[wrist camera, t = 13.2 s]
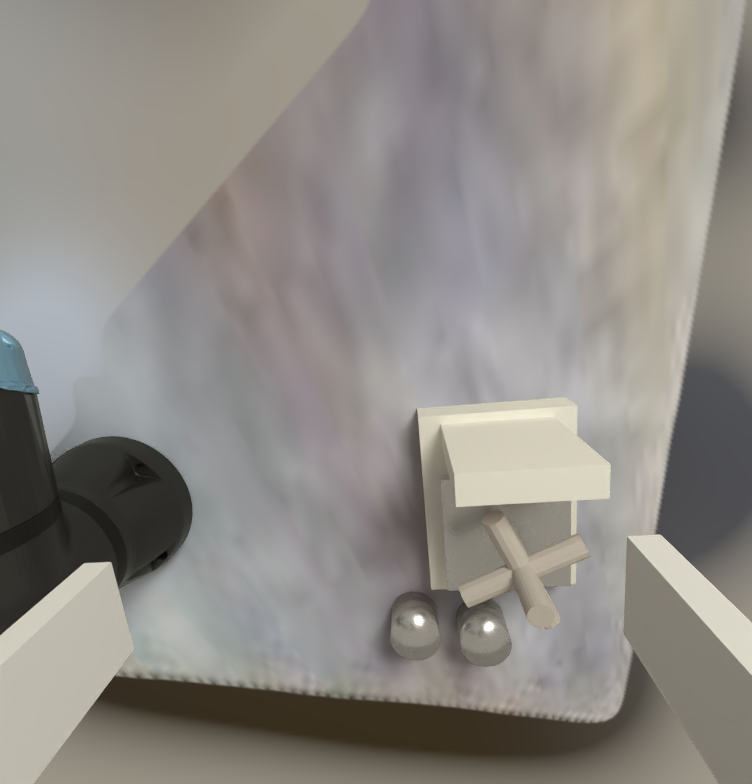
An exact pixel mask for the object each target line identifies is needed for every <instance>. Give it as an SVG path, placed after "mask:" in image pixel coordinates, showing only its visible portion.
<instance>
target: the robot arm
mask: <svg viewBox="0 0 752 784" xmlns="http://www.w3.org/2000/svg"><path fill="white" fill-rule="evenodd" d="M37 394H39V390H38V388H37V387H36V386H34V384H33V381H32V377H31V374H30V371H29V368H28V365H27V362H26V358H25V354H24V351H23V349H22V346H21V345H20V343H19V342H18V341H17V340H16V339H15V338H14V337H13V336H11V335H10V334H8V333H6V332H5V331H2V330H0V784H34V782H35V781H36V780H37V778H38V777H39V776H40V774H41V773H42V772H43V770H44V769H45V768H46V766H47V765H48V764H49V762H50V761H51V760H52V758H53V757H54V756H55V754H56V753H57V751H58V750H59V749H60V748H61V746H62V745H63V743H64V742H65V741H66V740H67V738H68V737H69V736H70V734H71V733H72V732H73V730H74V729H75V728H76V726H77V725H78V723H79V722H80V721H81V720H82V718H83V717H84V716H85V714H86V713H87V712H88V710H89V709H90V707H91V706H92V705H93V703H94V702H95V701H96V699H97V698H98V697H99V695H100V694H101V693H102V691H103V690H104V689H105V687H106V686H107V685H108V683H109V682H110V681H111V679H112V678H113V677H114V675H115V674H116V673H117V671H118V670H119V669H120V667H121V666H122V665H123V663H124V662H125V661H126V659H127V658H128V657H129V655H130V654H131V653H132V651H133V650H134V647H133V643H132V639H131V636H130V632H129V628H128V624H127V620H126V616H125V613H124V609H123V605H122V601H121V597H120V593H119V590H118V588H120V587H122V586H124V585H126V584H128V583H130V582H132V581H134V580H136V579H138V578H140V577H142V576H144V575H146V574H148V573H150V572H152V571H154V570H155V569H157V568H158V567H160V566H161V565H163V564H164V563H165V562H166V561H167V560H168V559H169V558H170V557H171V556H172V555H173V554H174V553H175V552H176V550H177V549H178V548H179V547H180V546H181V544H182V543H183V542H184V540H185V538H186V537H187V534H188V532H189V529H190V526H191V521H192V503H191V498H190V494H189V491H188V488H187V486H186V483H185V481H184V480H183V478H182V476H181V475H180V473H179V472H178V470H177V469H176V468H175V466H174V465H173V464H172V463H171V462H170V461H169V460H168V459H167V458H166V457H165V456H163V455H162V454H161V453H159V452H158V451H157V450H155V449H153V448H152V447H150V446H148V445H146V444H144V443H142V442H139V441H136V440H133V439H129V438H124V437H113V436H111V437H100V438H96V439H92V440H89V441H87V442H85V443H83V444H80V445H78V446H76V447H74V448H72V449H70V450H69V451H67V452H65V453H64V454H62V455H61V456H60V457H58V458H57V459H56V460H55V461H54V462H53V463H52V461H51V457H50V453H49V449H48V445H47V440H46V435H45V431H44V426H43V421H42V417H41V412H40V408H39V403H38V398H37ZM624 635H625V637H626V638H627V640H628V641H629V643H630V644H631V646H632V648H633V649H634V651H635V652H636V654H637V655H638V657H639V659H640V660H641V662H642V663H643V665H644V667H645V668H646V670H647V671H648V673H649V674H650V676H651V678H652V679H653V680H654V682H655V684H656V685H657V687H658V689H659V690H660V692H661V693H662V695H663V697H664V698H665V700H666V701H667V703H668V704H669V706H670V708H671V709H672V711H673V712H674V714H675V715H676V717H677V719H678V720H679V722H680V723H681V725H682V726H683V728H684V730H685V731H686V733H687V734H688V736H689V737H690V739H691V741H692V742H693V744H694V745H695V747H696V749H697V750H698V752H699V753H700V755H701V756H702V758H703V760H704V761H705V763H706V764H707V766H708V767H709V769H710V770H711V772H712V774H713V775H714V777H715V778H716V780H717V782H718V783H719V784H752V622H751V621H750V620H749V619H747V618H746V617H745V616H744V615H743V614H742V613H741V612H740V611H739V610H738V609H737V608H736V607H735V606H734V605H733V604H732V603H731V602H730V601H729V600H728V599H727V598H726V597H724V595H722V593H720V592H719V591H718V590H717V589H716V588H715V587H714V586H713V585H712V584H711V583H710V582H709V581H708V580H707V579H706V578H705V577H704V576H703V575H702V574H701V573H700V572H699V571H698V570H697V569H696V568H695V567H694V566H692V565H691V564H690V563H689V562H688V561H687V560H686V559H685V558H684V557H683V556H682V555H681V554H680V553H679V552H678V551H677V550H676V549H675V548H674V547H673V546H672V545H671V544H670V543H669V542H668V541H666V540H665V539H664V538H663V537H662V536H661V535H645V536H627V554H626V581H625V608H624Z"/></svg>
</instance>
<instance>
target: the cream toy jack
mask: <svg viewBox="0 0 752 784" xmlns="http://www.w3.org/2000/svg"><path fill="white" fill-rule="evenodd" d="M482 524H483V526H484V527H485V529H486V531H487V533H488V534H489V536H490V538H491V540H492V542H493V543H494V545H495V547H496V549H497V551H498V552H499V554H500V556H501V558H502V560H503V561H504V563H505V565H503V566H500V567H498V568H496V569H493V570H491V571H489V572H486V573H484V574H482V575H479V576H477V577H475V578H473V579H470V580H468V581H466V582H463V583H461V584H459V590H460V593H461V596H462V598H463V600H464V602H465V604H466V606H467V607H468V608H470V607H472V606H475V605H477V604H479V603H482V602H484V601H487V600H489V599H491V598H494V597H496V596H498V595H501V594H503V593H506V592H508V591H510V590H513V589H515V588H516V590H517V593H518V596H519V598H520V601H521V604H522V607H523V609H524V612H525V615H526V617H527V620H528V622H529V624H530V625H532V626H533V627H536V628H545V629H550V628H553V627H555V626H556V625H558V623H559V621H560V615H559V613H558V611H557V609H556V607H555V605H554V604H553V602H552V600H551V598H550V596H549V594H548V593H547V591H546V589H545V587H544V585H543V583H542V582H541V580H540V578H541V577H543V576H546V575H548V574H551V573H553V572H555V571H558V570H560V569H562V568H565V567H567V566H569V565H572V564H574V563H577V562H579V561H581V560H584V559H586V558H588V557H590V554H589V552H588V550H587V548H586V546H585V545H584V543H583V541H582V540H581V538H580V537H579V535H578V534H577V533H576V534H574V535H572V536H569V537H567V538H565V539H562V540H560V541H558V542H556V543H553V544H551V545H549V546H546V547H544V548H542V549H539V550H537V551H535V552H532V553H530V554H527V552H526V550H525V548H524V545H523V543H522V541H521V539H520V537H519V534H518V532H517V530H516V529H515V528H514V527H512V526H511V525H510V523H509V521H508V519H507V517H506V516H505V514H504V512H503V511H501V510H494V511H491V512H489V513H488V514H486V515H485V516H484V517H483V519H482Z"/></svg>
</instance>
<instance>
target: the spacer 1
mask: <svg viewBox="0 0 752 784" xmlns="http://www.w3.org/2000/svg"><path fill="white" fill-rule="evenodd" d="M391 644H392V647H393V649H394V650H395V651H396V652H397V653H398V654H399V655H400V656H402V657H404V658H406V659H410V660H423V659H426V658H429V657H430V656H432V655H433V654H434V653H435V652H436V651H437V650H438V648H439V645H440V632H439V622H438V612H437V607H436V604H435V602H434V601H433V600H432V599H431V598H430V597H429V596H427V595H425V594H423V593H420V592H408V593H404V594H402V595H401V596H399V597H398V598H397V599H396V600H395V601H394V603H393V605H392V613H391Z"/></svg>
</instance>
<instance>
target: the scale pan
mask: <svg viewBox="0 0 752 784" xmlns="http://www.w3.org/2000/svg"><path fill="white" fill-rule="evenodd" d="M440 487H441V502H442V517H443V531H444V546H445V561H446V576H447V587H448V591H456V590H459V584H461V583H463V582H466V581H468V580H470V579H473V578H475V577H477V576H479V575H482V574H484V573H486V572H489V571H491V570H493V569H496V568H498V567H500V566H503V565H505V563H504V561H503V560H502V558H501V556H500V554H499V552H498V551H497V549H496V547H495V545H494V543H493V542H492V540H491V538H490V536H489V534H488V533H487V531H486V529H485V527H484V526H483V524H482V519H483V517H484V516H485V515H486V514H488V513H489V512H491V511H494V510H501V511H503V512H504V514H505V516H506V517H507V519H508V521H509V523H510V525H511V526H512V527H514V528H515V529H516V530H517V532H518V534H519V537H520V539H521V541H522V543H523V545H524V548H525V550H526V552H527V554H530V553H532V552H535V551H537V550H539V549H542V548H544V547H546V546H549V545H551V544H553V543H556V542H558V541H560V540H562V539H565V538H567V537H569V536H571V501H555V502H537V503H520V504H502V505H484V506H466V507H456V504H455V500H454V496H453V492H452V487H451V483H450V479H449V475H445V476H440ZM540 580H541V582H542V583H543V585H544V587H553V586H571V565H569V566H567V567H565V568H562V569H560V570H558V571H555V572H553V573H551V574H548V575H546V576H543V577H541V578H540Z"/></svg>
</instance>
